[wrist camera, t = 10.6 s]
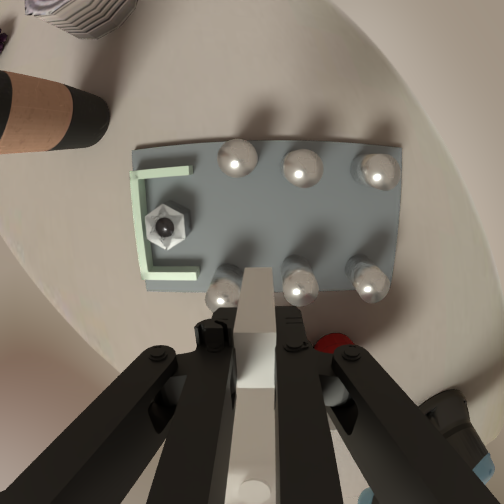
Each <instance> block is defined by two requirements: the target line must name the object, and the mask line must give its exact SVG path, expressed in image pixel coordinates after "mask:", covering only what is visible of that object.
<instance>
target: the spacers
mask: <svg viewBox="0 0 504 504" xmlns="http://www.w3.org/2000/svg"><path fill="white" fill-rule="evenodd" d="M217 162H218V165H219V167H220V169H221V170H222V172H223V173H225V174H226V175H228V176H230V177H234V178H240V177H244V176H246V175H248V174H250V173H251V172H252V171H253V170H254V168H255V167H256V165H257V162H258V155H257V152H256V150H255V148H254V147H253V145H252V144H251V143H249V142H248V141H246V140H243V139H231V140H229V141H227V142H225V143H224V144H223V145H222V146H221V148H220V149H219V151H218V155H217ZM280 170H281V173H282V175H283V177H284V178H285V179H286V180H288V181H289V182H290V183H292V184H293V185H294V186H297V187H300V188H309V187H312V186H314V185H316V184H317V183H318V182H319V181H320V179H321V177H322V175H323V163H322V160H321V159H320V157H319V156H318V155H317V154H316V153H315V152H313V151H311V150H308V149H299V150H295V151H292V152H289V153H287V154H286V155H285V156H284V157H283V158H282V160H281V163H280ZM350 173H351V176H352V178H353V179H354V180H355V181H356V182H357V183H359V184H362V185H365V186H369V187H372V188H375V189H379V190H382V191H388V190H391V189H393V188H394V187H395V186H396V185H397V184H398V182H399V180H400V176H401V170H400V166H399V164H398V162H397V160H396V159H395V158H394V157H392V156H390V155H388V154H360V155H358V156H356V157H355V158H354V159H353V160H352V162H351V164H350ZM280 273H281V279H282V286H283V292H284V297H285V299H286V300H287V301H288V302H289V303H290V304H292V305H294V306H298V307H301V306H306V305H309V304H311V303H312V302H313V301H314V300H315V299H316V297H317V296H318V293H319V286H318V283H317V281H316V279H315V276H314V274H313V272H312V269H311V267H310V265H309V262H308V261H307V260H306V259H305V258H304V257H302V256H300V255H292V256H289V257H287V258H286V259H285V260H284V261H283V262H282V264H281V267H280ZM345 274H346V276H347V277H348V279H349V280H350V282H351V283H352V285H353V286H354V288H355V289H356V291H357V292H358V294H359V295H360V297H361V298H362V300H364V301H365V302H367V303H376V302H379V301H381V300H382V299H383V298H384V297H385V296H386V295H387V293H388V291H389V288H390V282H389V279H388V277H387V276H386V275H385V274H384V273H383V272H382V271H381V270H380V269H379V268H378V267H377V266H376V265H375V264H374V263H373V262H372V261H371V260H370V259H369V258H368V257H367V256H366V255H363V254H357V255H354V256H352V257H351V258H350V259H349V260H348V261H347V263H346V265H345ZM242 280H243V273H242V271H241V270H240V269H239V268H238V267H237V266H235V265H233V264H223V265H221V266H219V267H218V268H217V269H216V271H215V273H214V275H213V278H212V281H211V283H210V286H209V288H208V291H207V293H206V296H205V301H206V305H207V307H208V308H209V309H210V310H211V311H212V312H215V311H216V310H217V309H218V308H219V307H238V303H239V297H240V291H241V286H242Z"/></svg>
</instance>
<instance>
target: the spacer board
mask: <svg viewBox="0 0 504 504" xmlns="http://www.w3.org/2000/svg"><path fill="white" fill-rule="evenodd" d="M226 142H227V141H226ZM248 142H249V143H251V144H252V145H253V147H254V148H255V150H256V152H257V155H258V162H257V165H256V167H255V168H254V170H253V171H252V172H251V173H250V174H248V175H246V176H244V177H240V178H234V177H230V176H228V175H226V174H225V173H223V172H222V170H221V169H220V167H219V165H218V162H217V155H218V151H219V149H220V148H221V146H222V145H223V144H224V143H225V142H209V143H195V144H183V145H173V146H163V147H154V148H146V149H139V150H132V165H133V171H137V170H146V169H156V168H166V167H178V166H192V165H193V174H192V175H183V176H170V177H158V178H147V179H145V192H146V205H147V215H148V214H149V213H150V212H152V211H153V210H155V209H156V208H157V207H159V206H160V205H162V204H163V203H165V202H167V201H169V200H172V201H174V202H176V203H178V204H180V205H182V206H184V207H186V208H187V209H189V210H190V214H191V229H192V232H191V233H190V234H189V235H188V236H187V238H186V239H184V240H183V241H181V242H179V243H178V244H176V245H175V246H173V247H172V248H170V249H169V250H165V249H163V248H162V247H160V246H158V245H156V244H154V243H153V242H151V241H150V243H151V251H152V259H153V266H199V268H200V275H199V277H198V279H197V280H145V283H146V289H147V291H157V292H207V291H208V288H209V286H210V283H211V281H212V278H213V275H214V273H215V271H216V269H217V268H218V267H219V266H221V265H223V264H233V265H235V266H237V267H238V268H239V269H240V270H241V271H242V273H243V275H244V269H245V268H253V267H272V274H273V289H274V292H283V286H282V279H281V273H280V267H281V264H282V262H283V261H284V260H285V259H286V258H287V257H289V256H292V255H300V256H302V257H304V258H305V259H306V260H307V261H308V262H309V265H310V267H311V269H312V272H313V274H314V276H315V279H316V281H317V283H318V286H319V291H340V290H356V289H355V288H354V286H353V285H352V283H351V282H350V280H349V279H348V277H347V276H346V274H345V265H346V263H347V261H348V260H349V259H350V258H351V257H352V256H354V255H357V254H363V255H366V256H367V257H368V258H369V259H370V260H371V261H372V262H373V263H374V264H375V265H376V266H377V267H378V268H379V269H380V270H381V271H382V272H383V273H384V274H385V275H386V276H387V277H388V279H389V282H390V286H391V280H392V273H393V267H394V259H395V252H396V243H397V234H398V224H399V211H400V196H401V176H400V180H399V182H398V184H397V185H396V186H395V187H394V188H393V189H391V190H388V191H382V190H379V189H375V188H372V187H369V186H365V185H362V184H359V183H357V182H356V181H355V180H354V179H353V178H352V176H351V173H350V164H351V162H352V160H353V159H354V158H355V157H356V156H358V155H360V154H388V155H390V156H392V157H394V158H395V159H396V160H397V162H398V164H399V166H400V170H401V172H402V148H398V147H390V146H380V145H370V144H359V143H345V142H328V141H300V140H255V141H248ZM299 149H308V150H311V151H313V152H315V153H316V154H317V155H318V156H319V157H320V159H321V160H322V163H323V175H322V177H321V179H320V181H319V182H318V183H317V184H316V185H314V186H312V187H309V188H300V187H297V186H294V185H293V184H292V183H290V182H289V181H288V180H286V179H285V178H284V177H283V175H282V173H281V170H280V163H281V160H282V158H283V157H284V156H285V155H286V154H287V153H289V152H292V151H295V150H299Z"/></svg>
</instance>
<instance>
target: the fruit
mask: <svg viewBox="0 0 504 504" xmlns="http://www.w3.org/2000/svg"><path fill="white" fill-rule="evenodd" d="M0 33H1V29H0ZM6 38H7V35H6V34H5V33H2V34H0V53H1V52H2V50H3V45H4V44H3V43H2V42H4V41H6Z"/></svg>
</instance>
